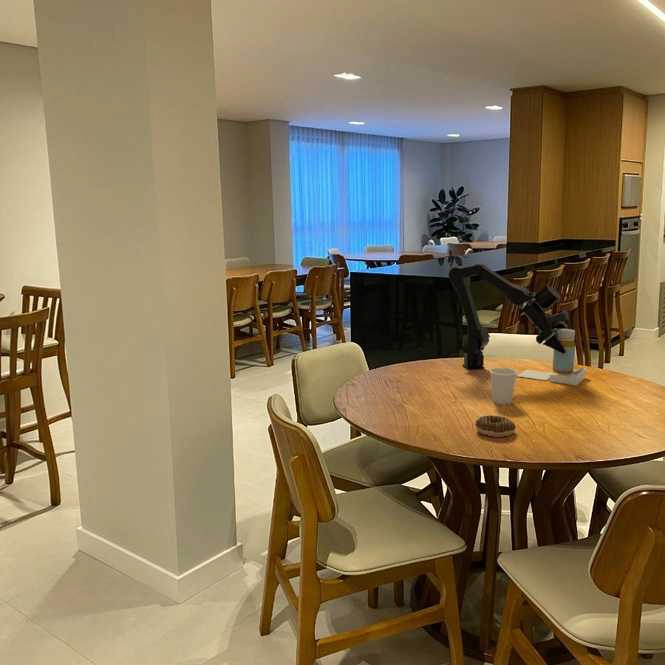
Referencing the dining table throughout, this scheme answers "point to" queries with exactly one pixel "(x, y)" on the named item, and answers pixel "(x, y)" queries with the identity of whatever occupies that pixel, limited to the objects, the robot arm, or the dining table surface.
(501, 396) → the dixie cup
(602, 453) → the dining table surface
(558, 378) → the dock
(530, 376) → the mat
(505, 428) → the donut
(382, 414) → the dining table surface
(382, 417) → the dining table surface
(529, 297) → the robot arm
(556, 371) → the bottle
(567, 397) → the dining table surface
